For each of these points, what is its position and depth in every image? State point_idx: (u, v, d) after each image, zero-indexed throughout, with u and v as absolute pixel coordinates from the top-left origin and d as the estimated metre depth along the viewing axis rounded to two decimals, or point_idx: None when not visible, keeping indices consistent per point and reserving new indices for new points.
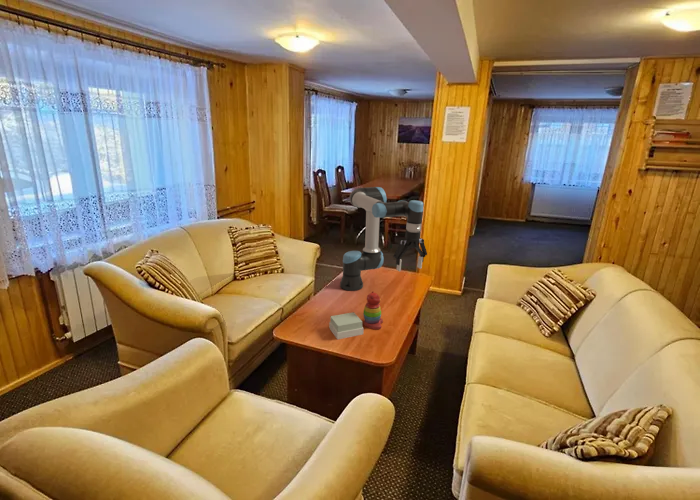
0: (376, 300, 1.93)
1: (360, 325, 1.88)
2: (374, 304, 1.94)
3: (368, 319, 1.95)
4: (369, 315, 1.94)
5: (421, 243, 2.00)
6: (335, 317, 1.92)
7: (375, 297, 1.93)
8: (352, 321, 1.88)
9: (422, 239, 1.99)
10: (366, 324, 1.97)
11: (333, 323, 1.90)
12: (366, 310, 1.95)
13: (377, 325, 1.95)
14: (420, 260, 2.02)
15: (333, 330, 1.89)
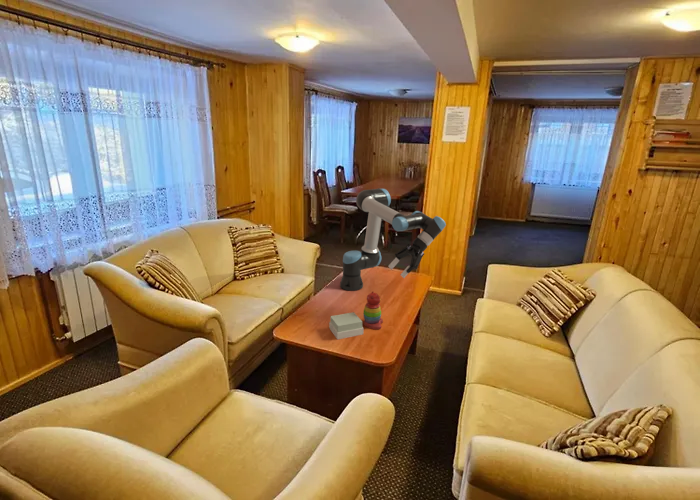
0: (376, 300, 1.93)
1: (360, 325, 1.88)
2: (374, 304, 1.94)
3: (368, 319, 1.95)
4: (369, 315, 1.94)
5: None
6: (335, 317, 1.92)
7: (375, 297, 1.93)
8: (352, 321, 1.88)
9: None
10: (366, 324, 1.97)
11: (333, 323, 1.90)
12: (366, 310, 1.95)
13: (377, 325, 1.95)
14: (396, 262, 2.03)
15: (333, 330, 1.89)
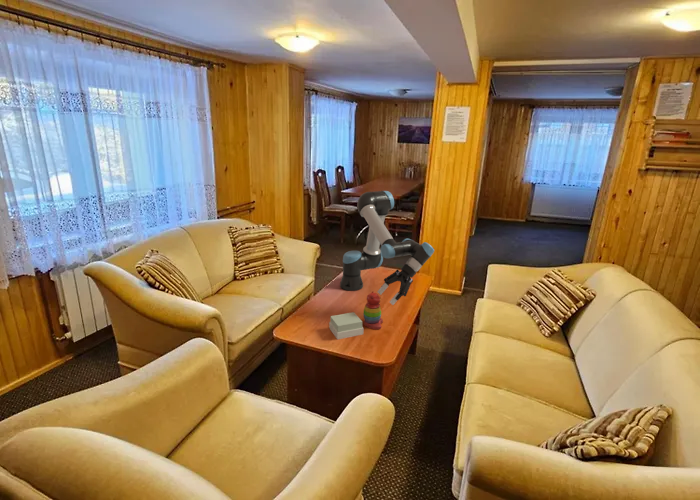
0: (376, 300, 1.93)
1: (360, 325, 1.88)
2: (374, 304, 1.94)
3: (368, 319, 1.95)
4: (369, 315, 1.94)
5: (397, 275, 2.03)
6: (335, 317, 1.92)
7: (375, 297, 1.93)
8: (352, 321, 1.88)
9: (400, 272, 2.04)
10: (366, 324, 1.97)
11: (333, 323, 1.90)
12: (366, 310, 1.95)
13: (377, 325, 1.95)
14: (385, 288, 2.03)
15: (333, 330, 1.89)
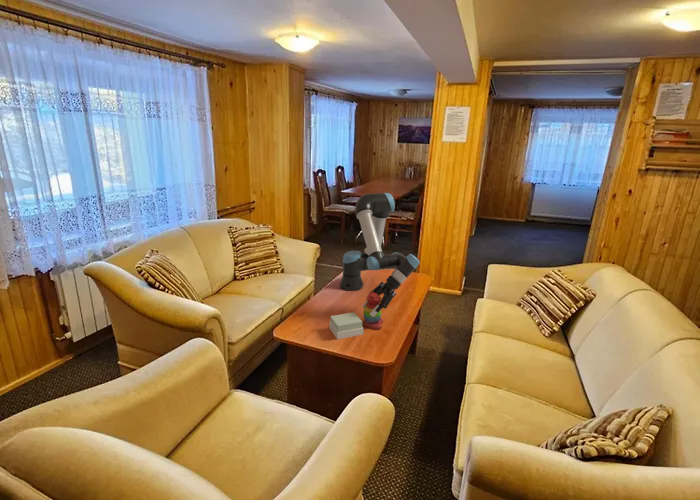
0: (376, 300, 1.93)
1: (360, 325, 1.88)
2: (374, 304, 1.94)
3: (368, 319, 1.95)
4: (369, 315, 1.94)
5: (382, 287, 2.02)
6: (335, 317, 1.92)
7: (375, 297, 1.93)
8: (352, 321, 1.88)
9: (384, 284, 2.03)
10: (366, 324, 1.97)
11: (333, 323, 1.90)
12: (366, 310, 1.95)
13: (377, 325, 1.95)
14: None
15: (333, 330, 1.89)
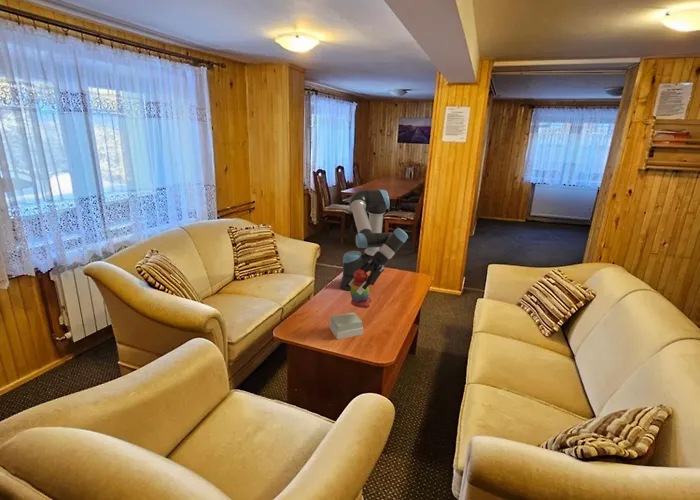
0: (363, 277, 1.83)
1: (360, 325, 1.88)
2: (361, 281, 1.84)
3: (355, 297, 1.85)
4: (356, 293, 1.84)
5: (369, 264, 1.93)
6: (335, 317, 1.92)
7: (362, 274, 1.83)
8: (352, 321, 1.88)
9: None
10: (353, 303, 1.87)
11: (333, 323, 1.90)
12: (353, 288, 1.85)
13: (365, 303, 1.85)
14: None
15: (333, 330, 1.89)
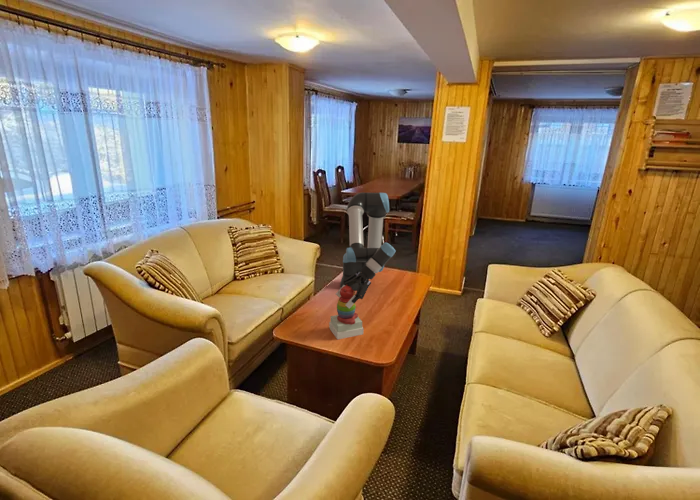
0: (349, 293, 1.83)
1: (360, 325, 1.88)
2: (347, 298, 1.84)
3: (341, 314, 1.85)
4: (342, 309, 1.84)
5: None
6: (335, 317, 1.92)
7: (348, 290, 1.83)
8: None
9: None
10: (339, 319, 1.87)
11: (333, 323, 1.90)
12: (339, 304, 1.85)
13: (351, 320, 1.85)
14: None
15: (333, 330, 1.89)
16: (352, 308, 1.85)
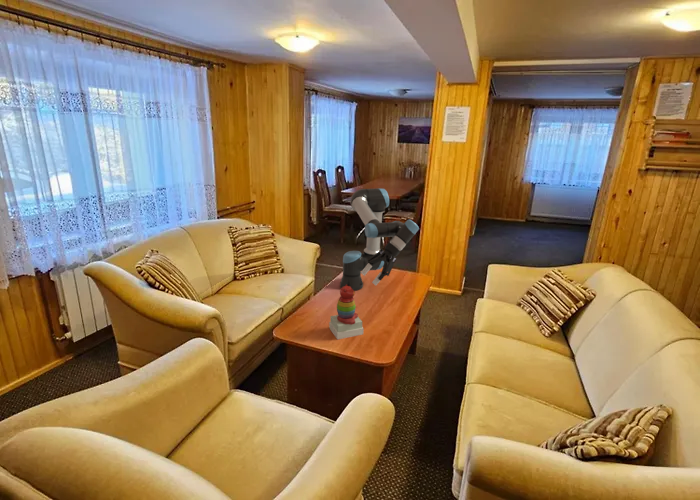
0: (349, 293, 1.83)
1: (360, 325, 1.88)
2: (347, 298, 1.84)
3: (341, 314, 1.85)
4: (342, 309, 1.84)
5: None
6: (335, 317, 1.92)
7: (348, 290, 1.83)
8: None
9: None
10: (339, 319, 1.87)
11: (333, 323, 1.90)
12: (339, 304, 1.85)
13: (351, 320, 1.85)
14: (369, 268, 1.95)
15: (333, 330, 1.89)
16: (352, 308, 1.85)
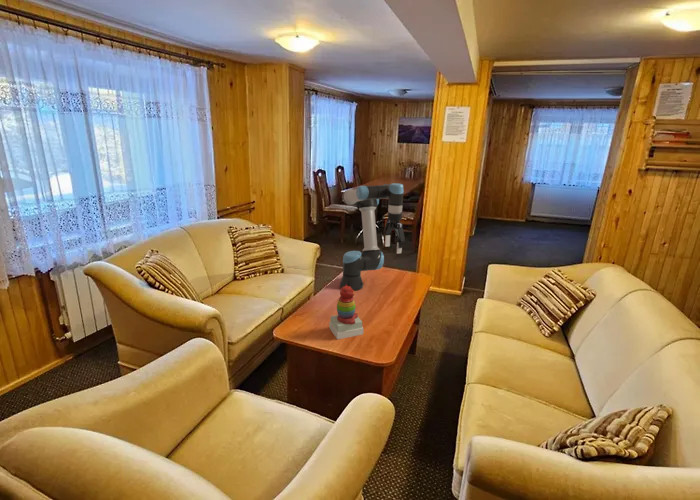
0: (349, 293, 1.83)
1: (360, 325, 1.88)
2: (347, 298, 1.84)
3: (341, 314, 1.85)
4: (342, 309, 1.84)
5: (390, 223, 2.12)
6: (335, 317, 1.92)
7: (348, 290, 1.83)
8: None
9: None
10: (339, 319, 1.87)
11: (333, 323, 1.90)
12: (339, 304, 1.85)
13: (351, 320, 1.85)
14: (389, 239, 2.15)
15: (333, 330, 1.89)
16: (352, 308, 1.85)
